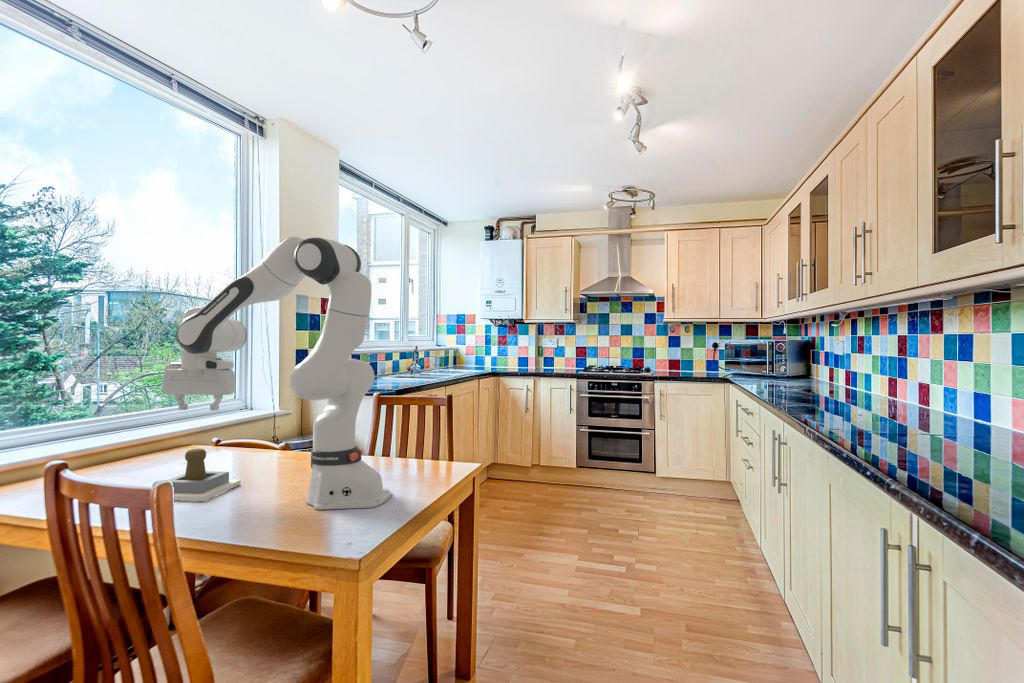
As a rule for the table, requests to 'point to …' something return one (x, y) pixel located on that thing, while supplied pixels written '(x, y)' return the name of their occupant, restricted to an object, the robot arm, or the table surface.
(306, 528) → the table surface
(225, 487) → the socket board
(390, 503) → the table surface
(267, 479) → the table surface
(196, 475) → the cork
